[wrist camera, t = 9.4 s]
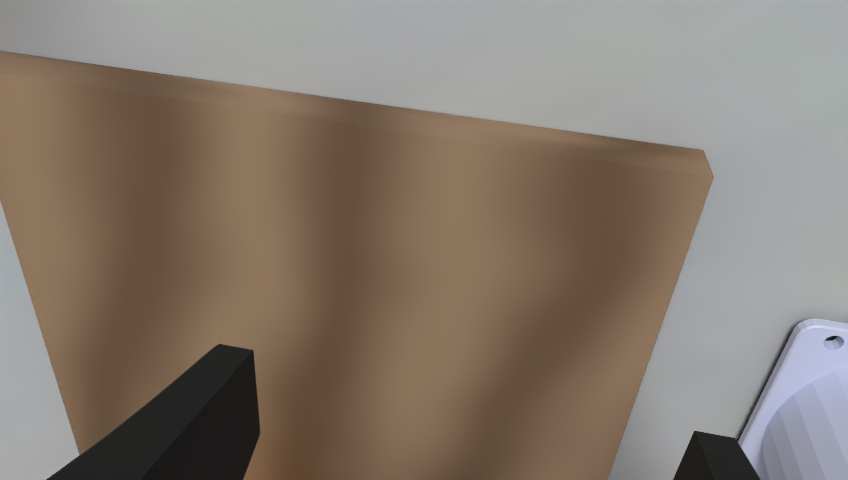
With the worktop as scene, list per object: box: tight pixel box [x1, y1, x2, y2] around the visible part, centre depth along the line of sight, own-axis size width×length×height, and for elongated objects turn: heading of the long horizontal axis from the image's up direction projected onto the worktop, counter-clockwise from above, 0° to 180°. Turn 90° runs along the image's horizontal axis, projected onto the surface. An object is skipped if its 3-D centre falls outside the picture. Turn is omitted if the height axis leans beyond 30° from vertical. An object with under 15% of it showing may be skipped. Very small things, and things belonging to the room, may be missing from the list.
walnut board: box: [0, 51, 714, 480], centre depth 25 cm, size 20×25×2 cm
